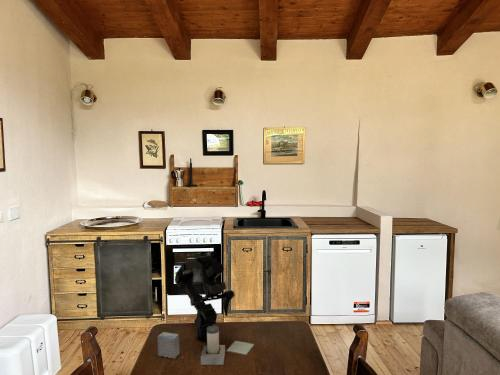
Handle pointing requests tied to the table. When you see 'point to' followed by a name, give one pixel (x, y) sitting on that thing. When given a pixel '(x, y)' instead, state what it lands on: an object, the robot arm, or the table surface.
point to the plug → (213, 339)
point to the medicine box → (168, 345)
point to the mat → (240, 347)
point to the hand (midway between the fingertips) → (216, 317)
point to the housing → (213, 356)
